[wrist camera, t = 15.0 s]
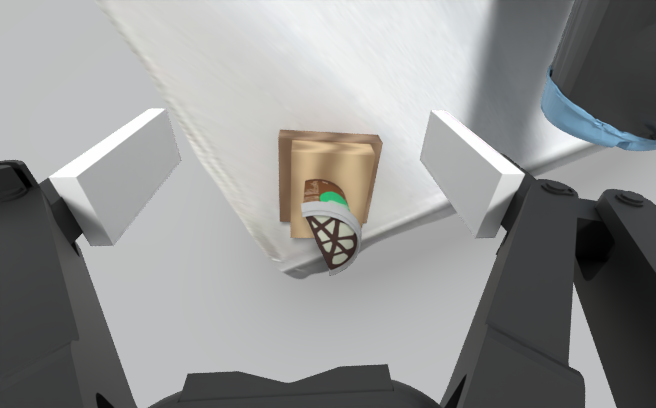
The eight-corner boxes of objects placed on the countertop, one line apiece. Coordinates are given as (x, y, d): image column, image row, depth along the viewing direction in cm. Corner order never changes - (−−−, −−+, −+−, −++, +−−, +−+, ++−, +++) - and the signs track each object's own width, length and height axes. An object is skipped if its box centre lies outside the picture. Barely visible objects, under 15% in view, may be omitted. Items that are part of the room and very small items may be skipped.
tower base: (377, 133, 48) (382, 143, 45) (362, 210, 57) (366, 223, 54) (280, 128, 46) (278, 137, 43) (281, 208, 55) (279, 221, 52)
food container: (361, 222, 48) (372, 267, 40) (326, 232, 49) (330, 278, 41) (341, 160, 41) (350, 199, 33) (301, 172, 42) (300, 213, 34)
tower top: (370, 144, 45) (375, 155, 41) (356, 224, 54) (359, 238, 50) (292, 140, 43) (291, 151, 40) (291, 222, 53) (290, 237, 49)
